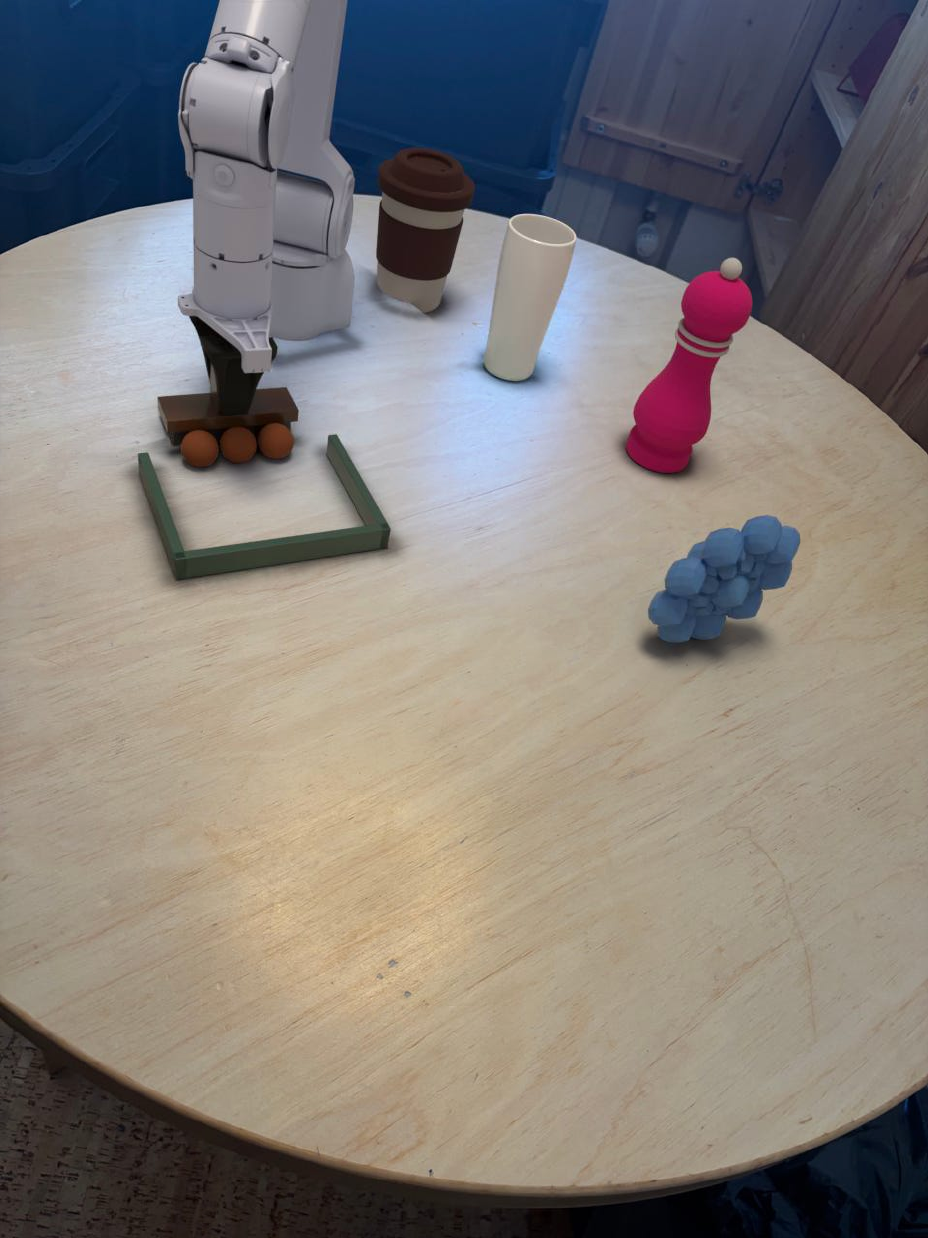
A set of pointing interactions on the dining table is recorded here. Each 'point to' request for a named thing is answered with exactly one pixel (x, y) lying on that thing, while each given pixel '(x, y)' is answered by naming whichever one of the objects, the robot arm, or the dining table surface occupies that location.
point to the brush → (207, 415)
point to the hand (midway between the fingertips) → (229, 401)
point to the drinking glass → (526, 292)
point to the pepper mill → (689, 371)
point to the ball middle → (238, 444)
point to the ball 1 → (199, 448)
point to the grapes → (723, 579)
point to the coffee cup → (419, 224)
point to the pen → (278, 548)
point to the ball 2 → (275, 441)
